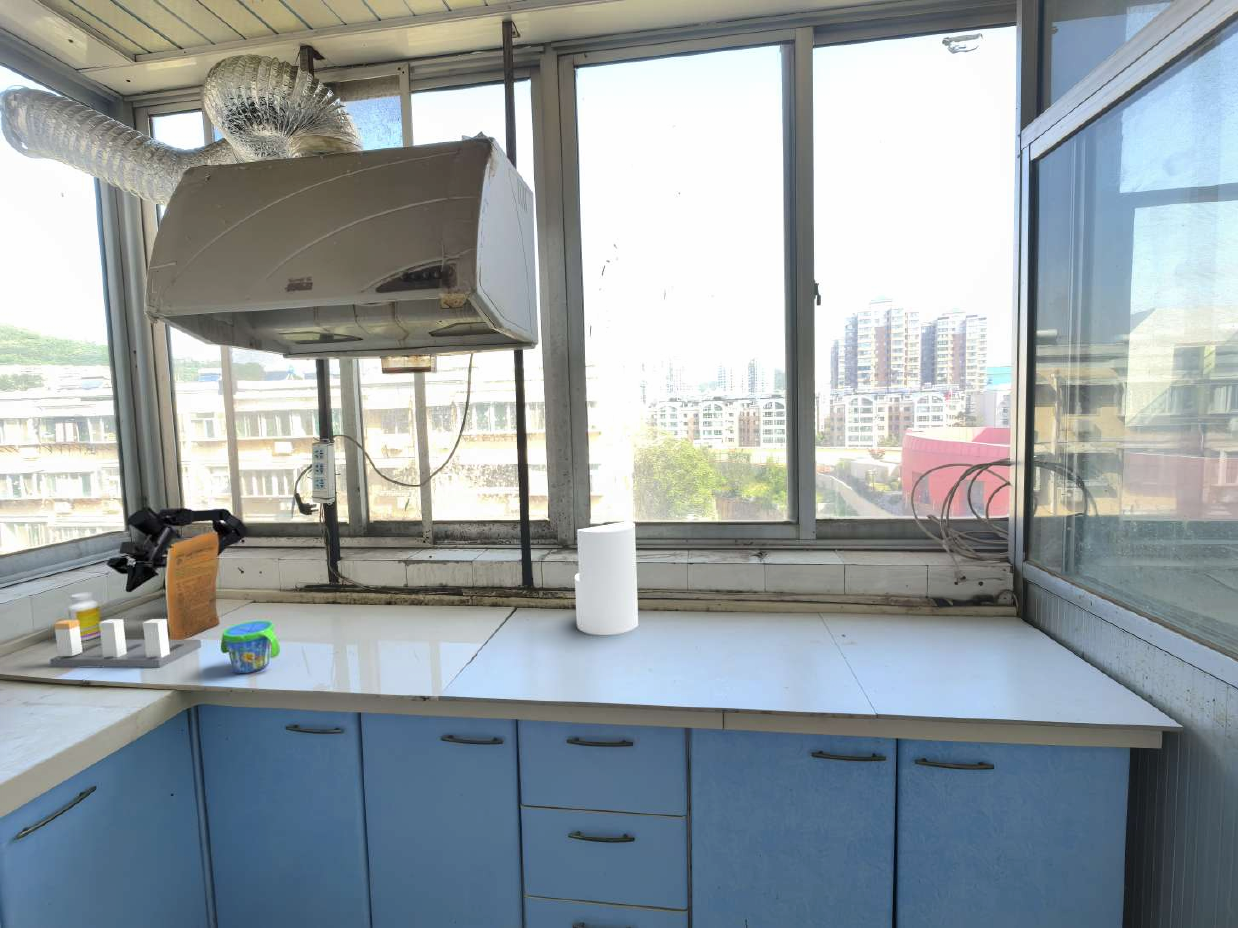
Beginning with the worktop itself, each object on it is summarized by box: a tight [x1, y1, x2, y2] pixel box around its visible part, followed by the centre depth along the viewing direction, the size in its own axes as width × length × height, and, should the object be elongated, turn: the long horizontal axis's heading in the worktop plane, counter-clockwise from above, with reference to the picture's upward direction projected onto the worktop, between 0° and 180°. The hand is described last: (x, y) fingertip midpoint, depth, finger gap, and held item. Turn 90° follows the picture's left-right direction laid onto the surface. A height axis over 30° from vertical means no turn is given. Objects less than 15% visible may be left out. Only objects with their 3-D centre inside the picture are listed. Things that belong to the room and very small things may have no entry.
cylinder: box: [574, 520, 639, 636], centre depth 166 cm, size 17×17×28 cm
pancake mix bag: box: [164, 530, 220, 640], centre depth 172 cm, size 7×19×28 cm, turn 170°
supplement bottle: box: [67, 591, 102, 642], centre depth 171 cm, size 7×7×13 cm
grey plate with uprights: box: [49, 618, 202, 669], centre depth 156 cm, size 13×30×11 cm, turn 85°
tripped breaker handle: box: [53, 619, 83, 656], centre depth 152 cm, size 3×4×8 cm, turn 84°
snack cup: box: [220, 620, 281, 674], centre depth 145 cm, size 16×10×10 cm
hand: (127, 591), depth 169 cm, fingers closed
